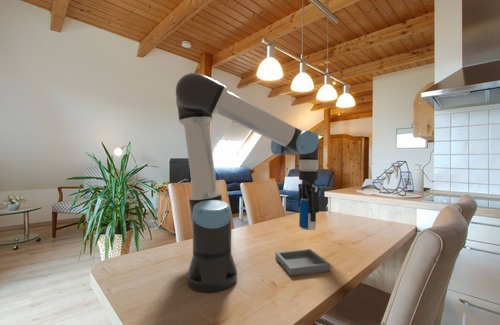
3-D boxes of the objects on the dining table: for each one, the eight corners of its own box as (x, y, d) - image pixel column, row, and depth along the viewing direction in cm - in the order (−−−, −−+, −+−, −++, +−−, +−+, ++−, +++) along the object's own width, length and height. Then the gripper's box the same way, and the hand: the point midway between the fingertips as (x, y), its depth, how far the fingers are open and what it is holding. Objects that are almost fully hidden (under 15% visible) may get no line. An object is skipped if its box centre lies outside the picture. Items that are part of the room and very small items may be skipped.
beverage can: (316, 231, 93) (316, 200, 93) (299, 229, 95) (299, 199, 95) (315, 227, 100) (315, 198, 100) (299, 225, 101) (299, 197, 101)
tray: (290, 276, 75) (290, 268, 75) (275, 259, 89) (275, 252, 89) (330, 271, 78) (330, 263, 78) (310, 255, 92) (310, 248, 92)
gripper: (330, 171, 89) (328, 233, 89) (306, 169, 108) (305, 221, 108) (311, 171, 87) (310, 234, 87) (290, 169, 106) (289, 221, 106)
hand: (307, 227), depth 97 cm, fingers closed on beverage can, 6 cm apart
